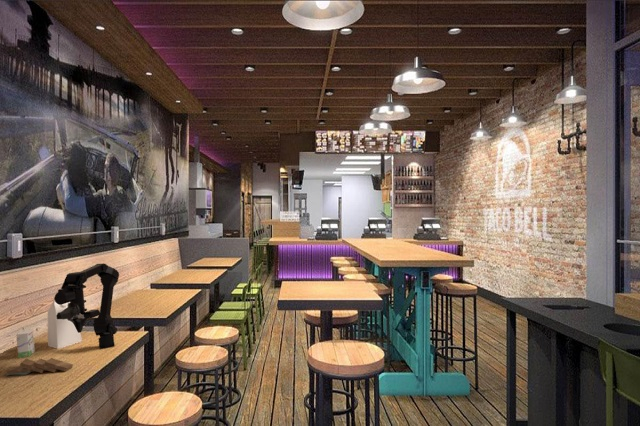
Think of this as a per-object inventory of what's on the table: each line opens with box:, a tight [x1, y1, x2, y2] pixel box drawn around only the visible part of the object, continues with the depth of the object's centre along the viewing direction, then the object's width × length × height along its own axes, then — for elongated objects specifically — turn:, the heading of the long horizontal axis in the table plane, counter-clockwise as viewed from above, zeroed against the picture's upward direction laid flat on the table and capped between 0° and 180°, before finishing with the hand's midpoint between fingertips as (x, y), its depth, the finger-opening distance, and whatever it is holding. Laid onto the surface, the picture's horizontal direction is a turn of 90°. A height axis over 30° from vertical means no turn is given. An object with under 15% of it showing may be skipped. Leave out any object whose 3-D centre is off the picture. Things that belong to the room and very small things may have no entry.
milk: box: [47, 299, 83, 350], centre depth 223 cm, size 12×12×26 cm
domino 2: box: [5, 371, 33, 376], centre depth 184 cm, size 2×4×10 cm
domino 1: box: [5, 365, 34, 375], centre depth 182 cm, size 2×4×10 cm
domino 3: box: [19, 358, 47, 374], centre depth 182 cm, size 2×4×10 cm
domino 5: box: [44, 357, 74, 373], centre depth 183 cm, size 2×4×10 cm
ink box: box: [15, 328, 36, 359], centre depth 209 cm, size 8×5×12 cm, turn 19°
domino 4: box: [33, 358, 59, 374], centre depth 183 cm, size 2×4×10 cm
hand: (79, 332), depth 195 cm, fingers closed
